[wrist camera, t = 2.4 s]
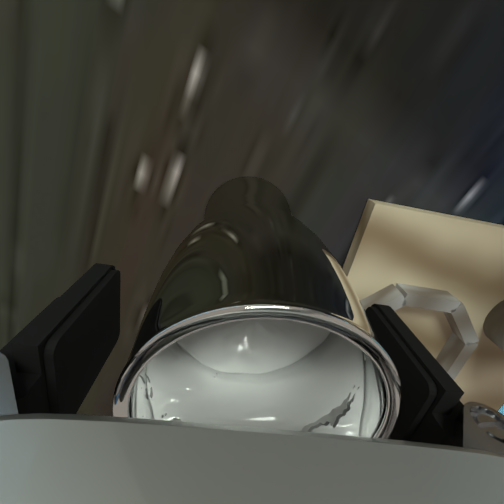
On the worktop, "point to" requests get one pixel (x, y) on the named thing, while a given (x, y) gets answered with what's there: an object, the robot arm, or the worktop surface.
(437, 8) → the worktop surface
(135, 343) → the beer glass
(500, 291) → the carrier board
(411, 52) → the worktop surface
